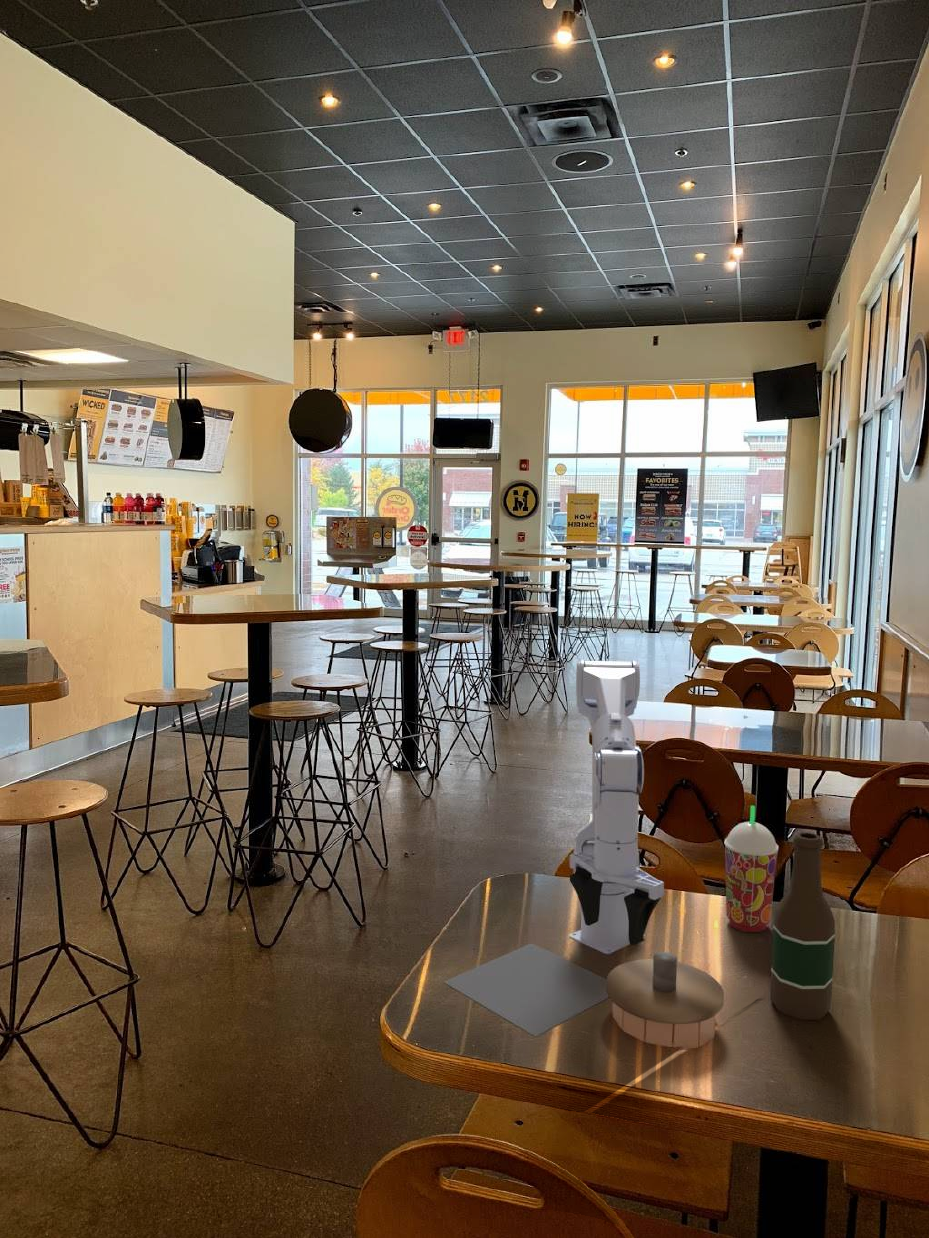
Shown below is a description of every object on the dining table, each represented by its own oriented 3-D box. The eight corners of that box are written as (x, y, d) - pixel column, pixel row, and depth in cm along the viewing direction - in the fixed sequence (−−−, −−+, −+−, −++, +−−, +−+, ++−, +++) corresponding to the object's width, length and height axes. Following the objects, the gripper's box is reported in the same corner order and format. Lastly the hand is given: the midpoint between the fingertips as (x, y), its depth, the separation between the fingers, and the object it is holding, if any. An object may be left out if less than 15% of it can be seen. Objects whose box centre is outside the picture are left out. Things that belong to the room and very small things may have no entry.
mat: (531, 946, 138) (531, 942, 138) (624, 991, 125) (624, 988, 125) (443, 985, 126) (443, 981, 126) (535, 1040, 113) (535, 1036, 113)
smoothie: (715, 913, 151) (720, 797, 148) (765, 914, 150) (771, 798, 148) (728, 936, 142) (733, 814, 140) (781, 937, 142) (787, 815, 140)
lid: (655, 953, 128) (656, 921, 127) (747, 997, 116) (748, 962, 116) (582, 987, 118) (583, 952, 118) (674, 1038, 107) (675, 1000, 106)
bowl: (653, 985, 127) (654, 958, 127) (734, 1023, 117) (735, 994, 117) (593, 1018, 118) (594, 989, 118) (676, 1062, 109) (677, 1031, 108)
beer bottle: (829, 997, 124) (838, 829, 122) (832, 1026, 117) (842, 848, 114) (769, 987, 127) (777, 822, 124) (769, 1015, 119) (777, 841, 117)
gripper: (556, 829, 124) (554, 923, 125) (642, 859, 113) (638, 961, 115) (588, 818, 129) (586, 908, 130) (674, 845, 118) (671, 944, 119)
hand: (613, 932), depth 123 cm, fingers open, 7 cm apart
